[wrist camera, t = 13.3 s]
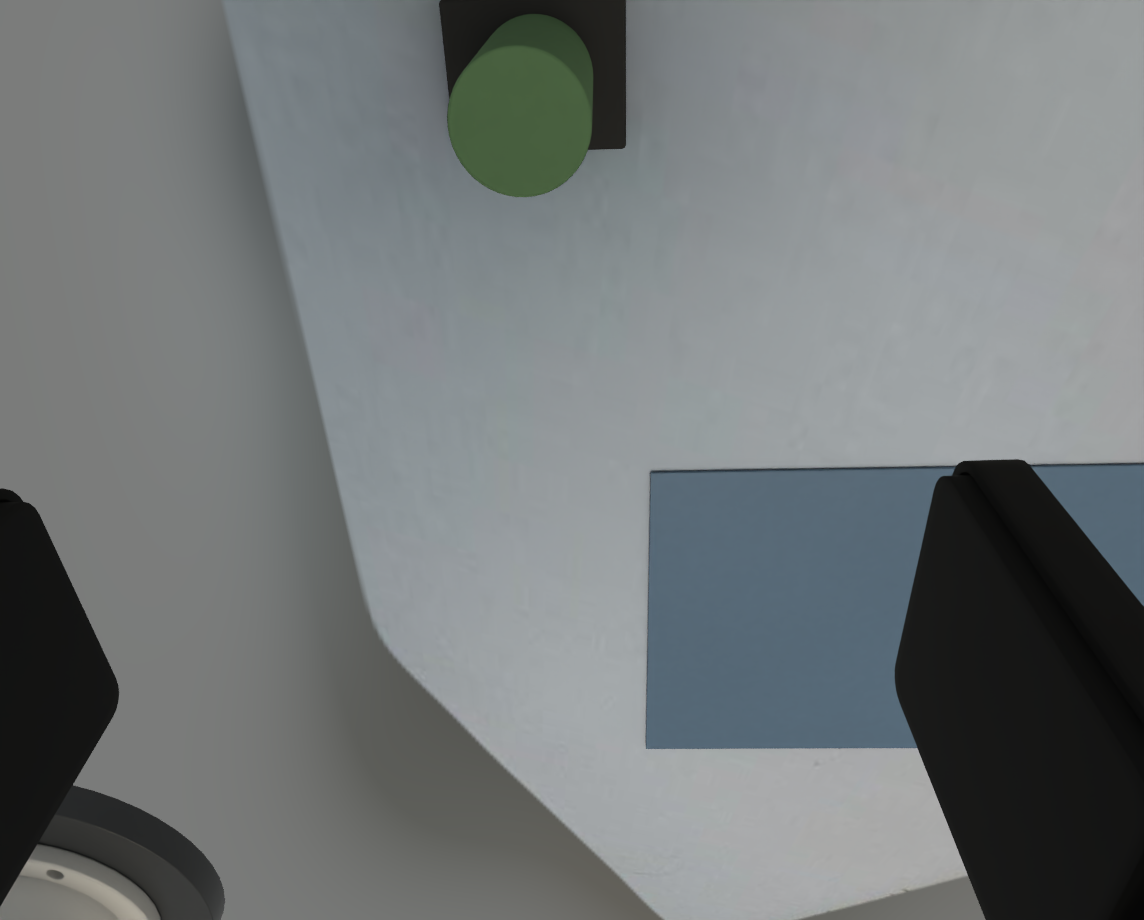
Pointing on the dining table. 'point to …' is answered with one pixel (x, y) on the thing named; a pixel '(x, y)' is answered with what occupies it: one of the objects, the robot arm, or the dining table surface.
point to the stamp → (533, 87)
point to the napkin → (813, 596)
